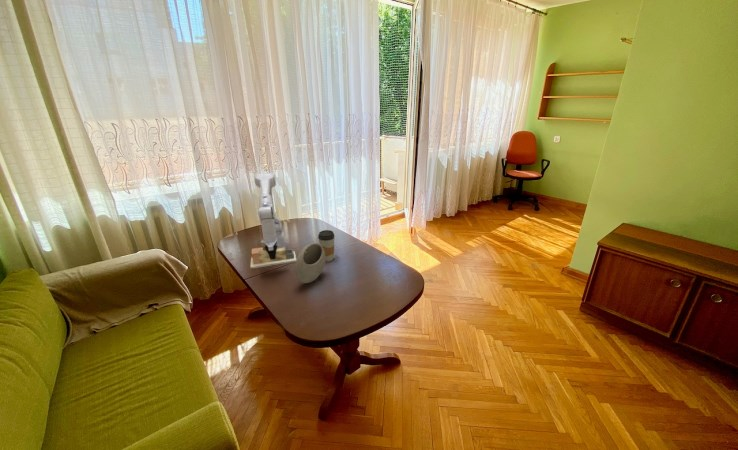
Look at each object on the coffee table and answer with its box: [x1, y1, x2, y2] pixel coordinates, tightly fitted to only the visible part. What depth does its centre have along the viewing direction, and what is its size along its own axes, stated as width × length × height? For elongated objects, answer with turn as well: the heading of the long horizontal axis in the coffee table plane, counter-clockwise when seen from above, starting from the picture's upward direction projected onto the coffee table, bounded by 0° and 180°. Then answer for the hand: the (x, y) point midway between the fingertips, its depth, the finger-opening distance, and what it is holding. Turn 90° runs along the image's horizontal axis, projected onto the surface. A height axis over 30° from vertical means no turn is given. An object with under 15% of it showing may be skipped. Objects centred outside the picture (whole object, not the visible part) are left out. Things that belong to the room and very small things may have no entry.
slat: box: [259, 248, 286, 264], centre depth 141 cm, size 12×3×5 cm, turn 108°
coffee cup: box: [317, 229, 335, 263], centre depth 154 cm, size 8×8×15 cm
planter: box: [294, 242, 326, 284], centre depth 134 cm, size 18×7×19 cm, turn 148°
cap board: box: [250, 248, 297, 269], centre depth 154 cm, size 22×10×4 cm, turn 108°
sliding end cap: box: [251, 247, 264, 264], centre depth 151 cm, size 5×6×6 cm
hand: (272, 257), depth 141 cm, fingers closed on slat, 3 cm apart
